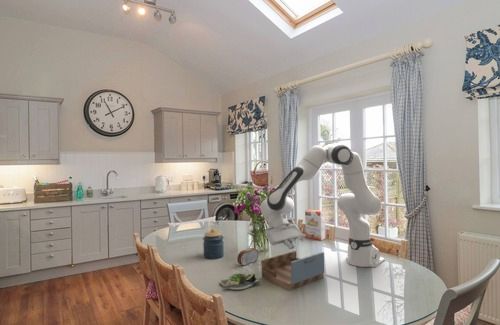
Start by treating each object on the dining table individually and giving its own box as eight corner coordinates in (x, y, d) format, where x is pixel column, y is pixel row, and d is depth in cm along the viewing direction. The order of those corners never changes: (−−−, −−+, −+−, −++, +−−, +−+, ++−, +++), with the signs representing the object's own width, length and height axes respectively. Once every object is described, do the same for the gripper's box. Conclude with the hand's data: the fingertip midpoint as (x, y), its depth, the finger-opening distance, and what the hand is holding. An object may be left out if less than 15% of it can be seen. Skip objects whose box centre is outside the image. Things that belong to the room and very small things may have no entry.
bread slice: (255, 259, 188) (255, 246, 188) (259, 261, 186) (259, 247, 186) (237, 266, 177) (236, 251, 177) (240, 267, 175) (240, 252, 175)
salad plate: (234, 297, 139) (234, 286, 139) (210, 286, 152) (210, 276, 152) (264, 284, 152) (264, 274, 152) (240, 275, 165) (240, 266, 165)
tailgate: (322, 271, 157) (322, 252, 157) (325, 272, 155) (325, 252, 155) (291, 283, 144) (290, 261, 144) (294, 284, 142) (293, 262, 142)
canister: (206, 260, 189) (205, 231, 189) (201, 255, 201) (200, 227, 201) (227, 257, 194) (226, 229, 194) (220, 252, 206) (219, 225, 206)
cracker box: (305, 237, 237) (304, 210, 236) (310, 236, 241) (309, 208, 240) (321, 240, 226) (320, 211, 226) (325, 239, 230) (325, 210, 230)
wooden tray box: (295, 266, 174) (294, 250, 174) (323, 277, 158) (323, 259, 158) (261, 277, 159) (261, 260, 159) (289, 290, 143) (288, 270, 143)
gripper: (266, 225, 158) (279, 248, 150) (295, 219, 170) (309, 241, 162) (261, 232, 161) (274, 255, 154) (289, 226, 174) (303, 247, 166)
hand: (292, 248), depth 158 cm, fingers closed
